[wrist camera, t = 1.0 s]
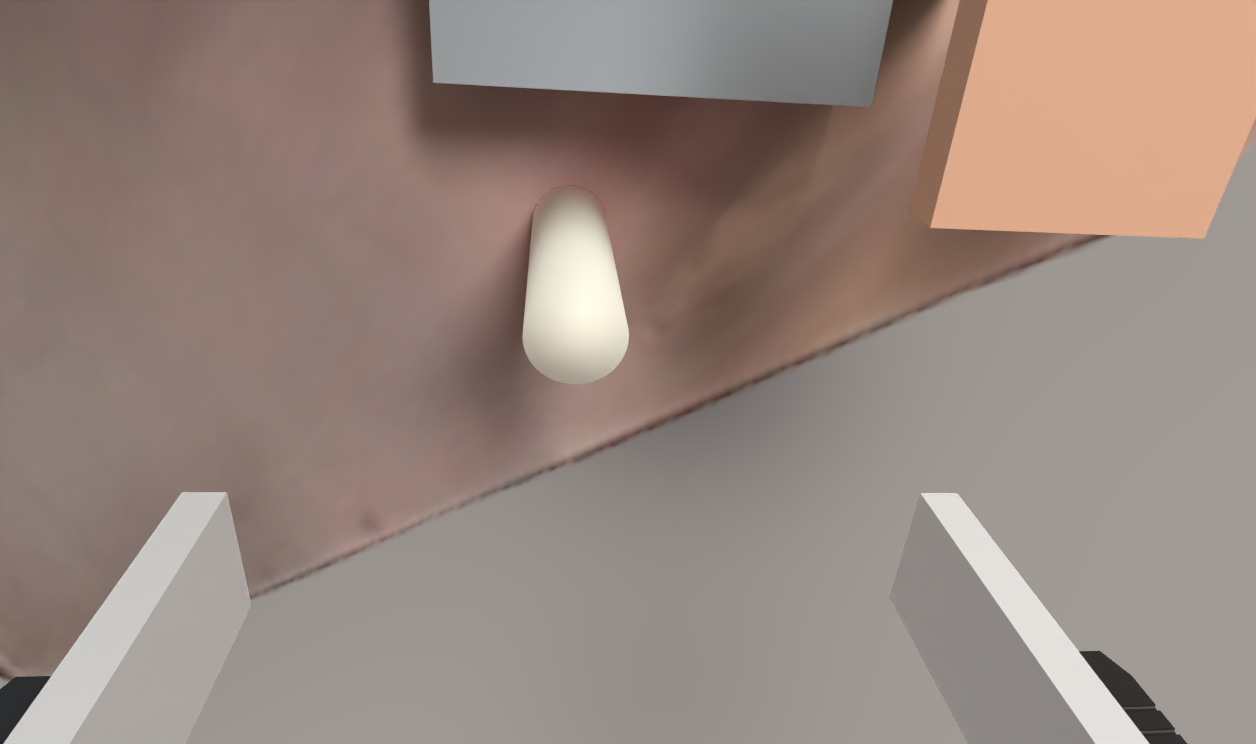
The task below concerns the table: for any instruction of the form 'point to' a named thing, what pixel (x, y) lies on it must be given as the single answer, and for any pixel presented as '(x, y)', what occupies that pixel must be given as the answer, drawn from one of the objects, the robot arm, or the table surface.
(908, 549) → the robot arm
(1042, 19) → the wooden topped pedestal
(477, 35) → the socket block
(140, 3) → the table surface
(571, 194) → the peg
